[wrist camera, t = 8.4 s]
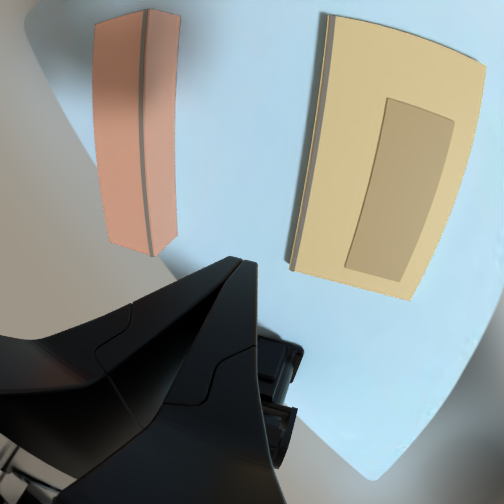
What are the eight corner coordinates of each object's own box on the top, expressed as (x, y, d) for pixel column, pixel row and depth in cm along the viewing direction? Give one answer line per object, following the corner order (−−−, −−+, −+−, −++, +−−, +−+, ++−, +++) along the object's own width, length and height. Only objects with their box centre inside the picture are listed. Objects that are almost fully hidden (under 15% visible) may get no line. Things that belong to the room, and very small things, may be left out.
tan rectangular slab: (409, 296, 20) (410, 301, 20) (290, 264, 22) (288, 270, 22) (482, 66, 10) (487, 66, 9) (328, 17, 12) (327, 14, 11)
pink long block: (177, 235, 24) (154, 257, 22) (133, 223, 25) (109, 242, 23) (180, 16, 14) (149, 8, 11) (127, 26, 15) (94, 24, 12)
